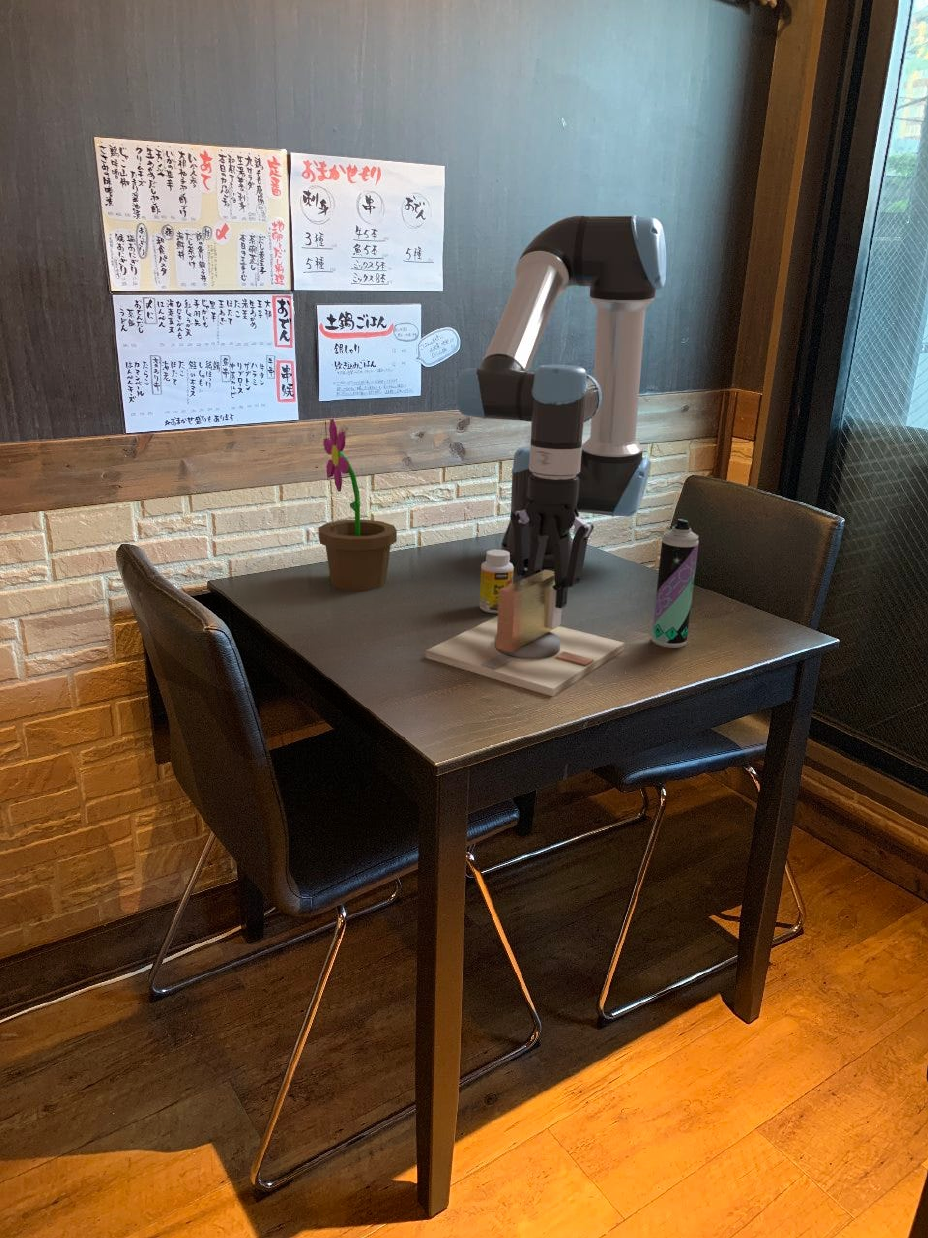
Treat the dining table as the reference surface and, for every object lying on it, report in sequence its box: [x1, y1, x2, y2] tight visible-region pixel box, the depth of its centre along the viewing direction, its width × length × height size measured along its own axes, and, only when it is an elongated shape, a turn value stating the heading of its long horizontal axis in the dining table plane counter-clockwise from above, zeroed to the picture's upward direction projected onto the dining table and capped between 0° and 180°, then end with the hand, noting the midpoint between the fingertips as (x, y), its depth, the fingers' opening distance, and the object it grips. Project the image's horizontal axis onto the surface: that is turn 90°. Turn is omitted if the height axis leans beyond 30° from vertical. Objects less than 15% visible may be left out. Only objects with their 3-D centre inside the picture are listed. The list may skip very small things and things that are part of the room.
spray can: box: [651, 518, 700, 649], centre depth 145 cm, size 6×6×20 cm
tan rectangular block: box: [496, 569, 557, 653], centre depth 140 cm, size 13×3×9 cm, turn 145°
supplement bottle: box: [479, 549, 515, 615], centre depth 159 cm, size 6×6×10 cm
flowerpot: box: [318, 418, 398, 592], centre depth 168 cm, size 14×14×30 cm
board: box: [425, 615, 626, 698], centre depth 142 cm, size 22×22×2 cm
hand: (544, 623), depth 145 cm, fingers closed on tan rectangular block, 3 cm apart
